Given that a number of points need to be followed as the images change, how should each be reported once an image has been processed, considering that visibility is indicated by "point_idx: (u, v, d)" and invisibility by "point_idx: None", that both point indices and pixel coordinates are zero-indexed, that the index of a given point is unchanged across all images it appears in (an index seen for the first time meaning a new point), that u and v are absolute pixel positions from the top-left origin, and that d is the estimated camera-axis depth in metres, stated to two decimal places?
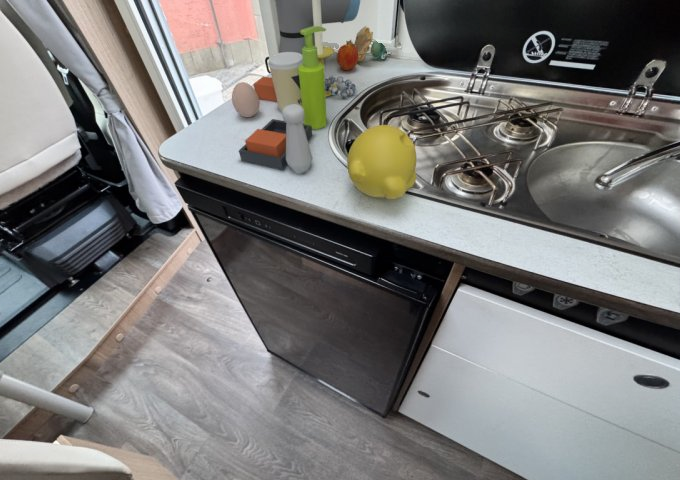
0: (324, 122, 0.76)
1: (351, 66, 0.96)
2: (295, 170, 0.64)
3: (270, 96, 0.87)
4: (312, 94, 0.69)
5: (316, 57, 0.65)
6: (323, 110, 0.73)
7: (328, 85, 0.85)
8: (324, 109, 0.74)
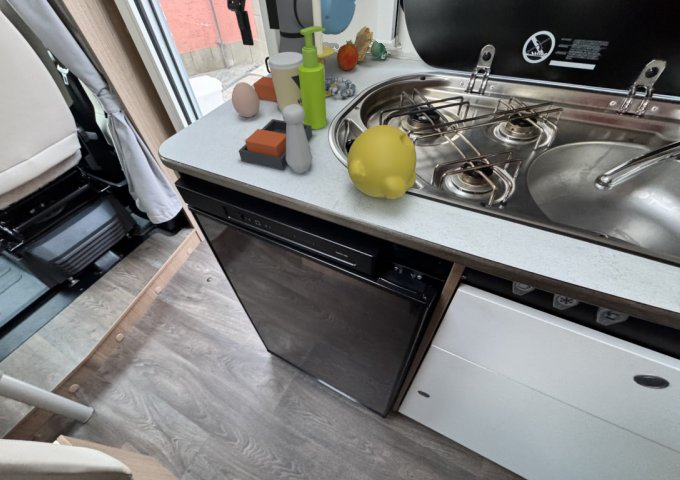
0: (324, 122, 0.76)
1: (351, 66, 0.96)
2: (295, 170, 0.64)
3: (270, 96, 0.87)
4: (312, 94, 0.69)
5: (316, 57, 0.65)
6: (323, 110, 0.73)
7: (328, 85, 0.85)
8: (324, 109, 0.74)
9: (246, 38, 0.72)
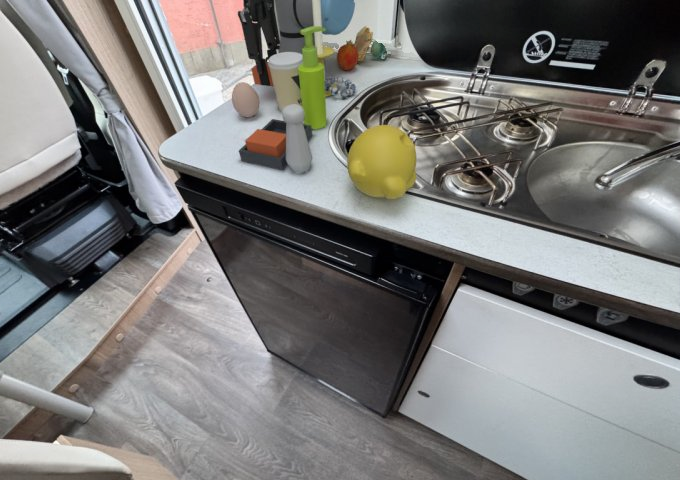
0: (324, 122, 0.76)
1: (351, 66, 0.96)
2: (295, 170, 0.64)
3: None
4: (312, 94, 0.69)
5: (316, 57, 0.65)
6: (323, 110, 0.73)
7: (328, 85, 0.85)
8: (324, 109, 0.74)
9: (264, 80, 0.83)
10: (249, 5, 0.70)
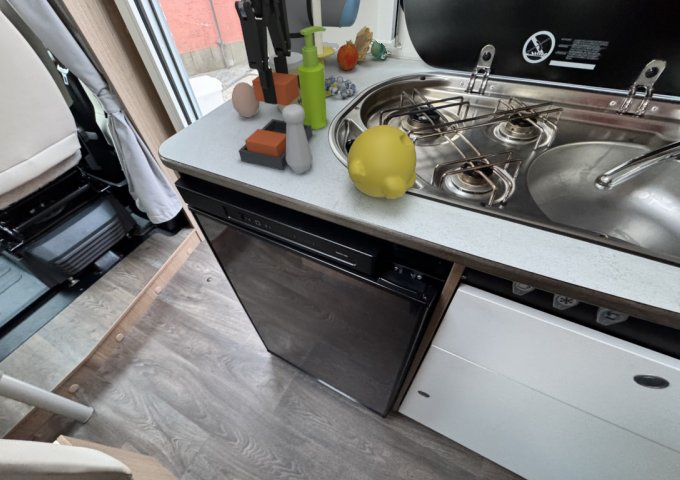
0: (324, 122, 0.76)
1: (351, 66, 0.96)
2: (295, 170, 0.64)
3: None
4: (312, 94, 0.69)
5: (316, 57, 0.65)
6: (323, 110, 0.73)
7: (328, 85, 0.85)
8: (324, 109, 0.74)
9: (269, 96, 0.62)
10: None
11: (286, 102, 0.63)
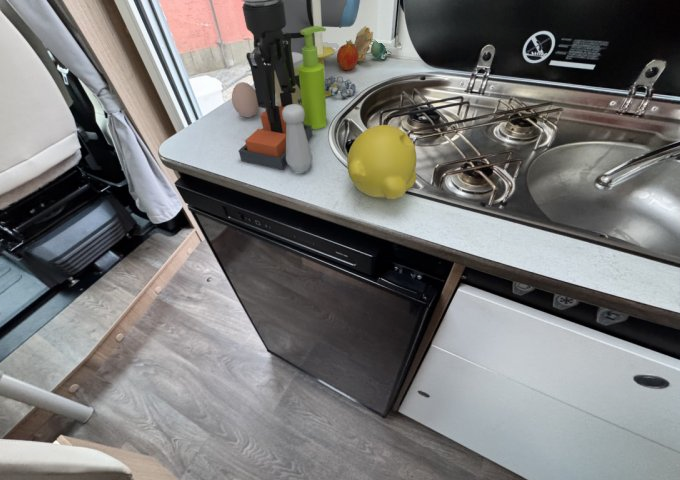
0: (324, 122, 0.76)
1: (351, 66, 0.96)
2: (295, 170, 0.64)
3: None
4: (312, 94, 0.69)
5: (316, 57, 0.65)
6: (323, 110, 0.73)
7: (328, 85, 0.85)
8: (324, 109, 0.74)
9: (275, 129, 0.68)
10: (261, 45, 0.55)
11: None
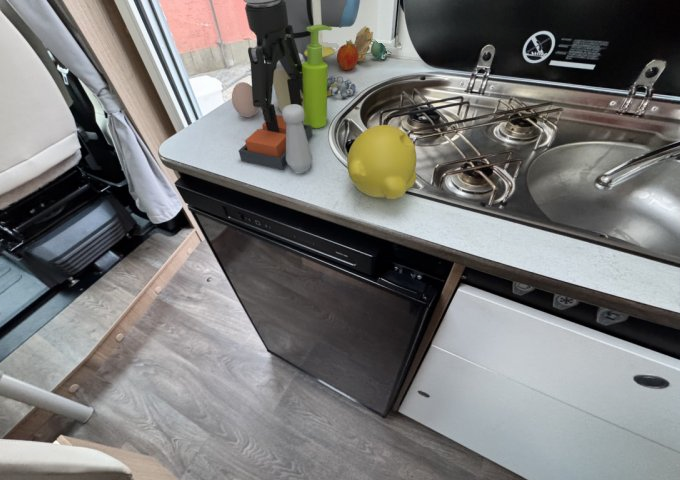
0: (325, 121, 0.76)
1: (351, 66, 0.96)
2: (295, 170, 0.64)
3: None
4: (314, 91, 0.69)
5: (320, 55, 0.65)
6: (324, 109, 0.73)
7: (328, 85, 0.85)
8: (325, 108, 0.74)
9: (272, 128, 0.67)
10: (264, 46, 0.55)
11: None
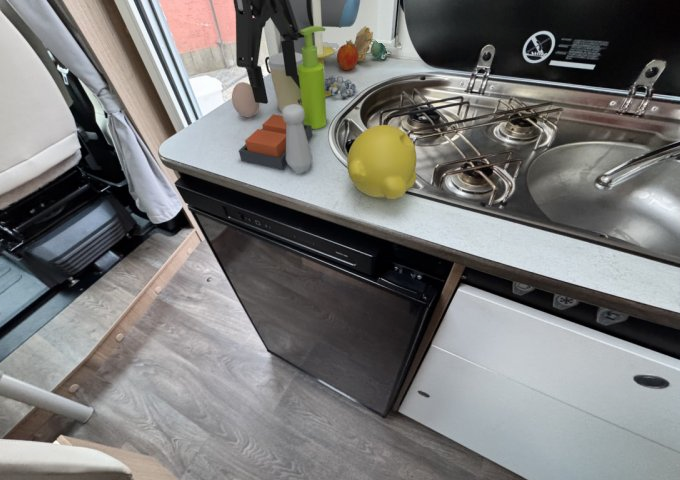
0: (324, 122, 0.76)
1: (351, 66, 0.96)
2: (295, 170, 0.64)
3: None
4: (312, 93, 0.69)
5: (316, 56, 0.65)
6: (323, 110, 0.73)
7: (328, 85, 0.85)
8: (324, 109, 0.74)
9: (259, 96, 0.60)
10: None
11: None
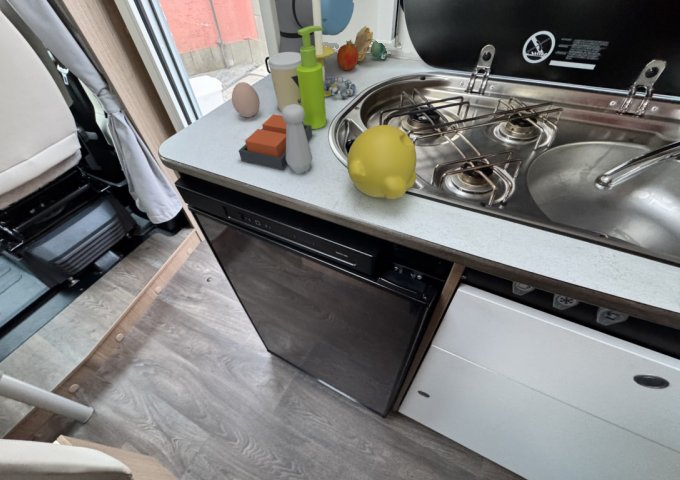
0: (324, 121, 0.76)
1: (351, 66, 0.96)
2: (295, 170, 0.64)
3: None
4: (310, 93, 0.69)
5: (314, 56, 0.65)
6: (322, 109, 0.73)
7: (328, 85, 0.85)
8: (323, 109, 0.74)
9: None
10: None
11: None
